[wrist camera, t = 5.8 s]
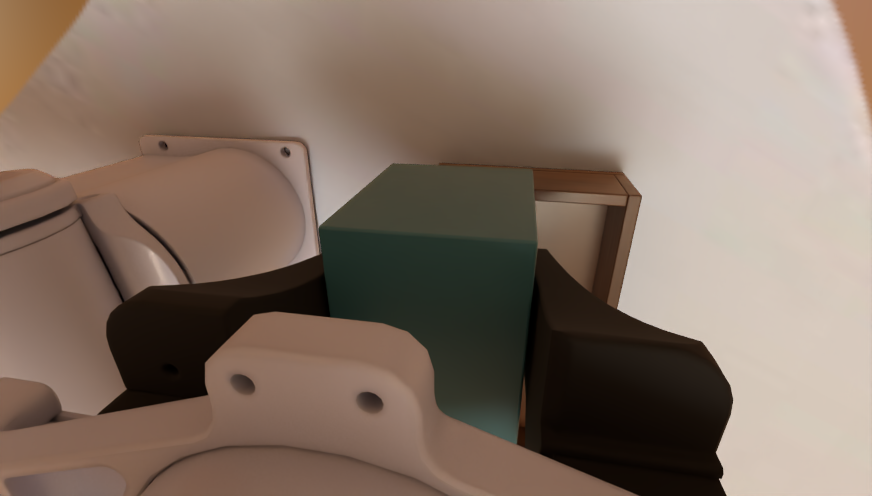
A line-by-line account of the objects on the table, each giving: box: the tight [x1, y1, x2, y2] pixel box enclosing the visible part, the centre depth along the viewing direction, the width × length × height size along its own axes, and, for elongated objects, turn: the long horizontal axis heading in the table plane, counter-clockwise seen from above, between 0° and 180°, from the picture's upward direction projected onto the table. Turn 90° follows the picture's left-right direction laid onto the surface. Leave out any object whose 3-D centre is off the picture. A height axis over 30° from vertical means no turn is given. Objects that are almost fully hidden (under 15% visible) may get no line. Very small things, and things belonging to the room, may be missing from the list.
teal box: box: [319, 163, 538, 445], centre depth 12 cm, size 4×6×6 cm
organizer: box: [438, 163, 642, 448], centre depth 24 cm, size 8×24×4 cm, turn 0°
